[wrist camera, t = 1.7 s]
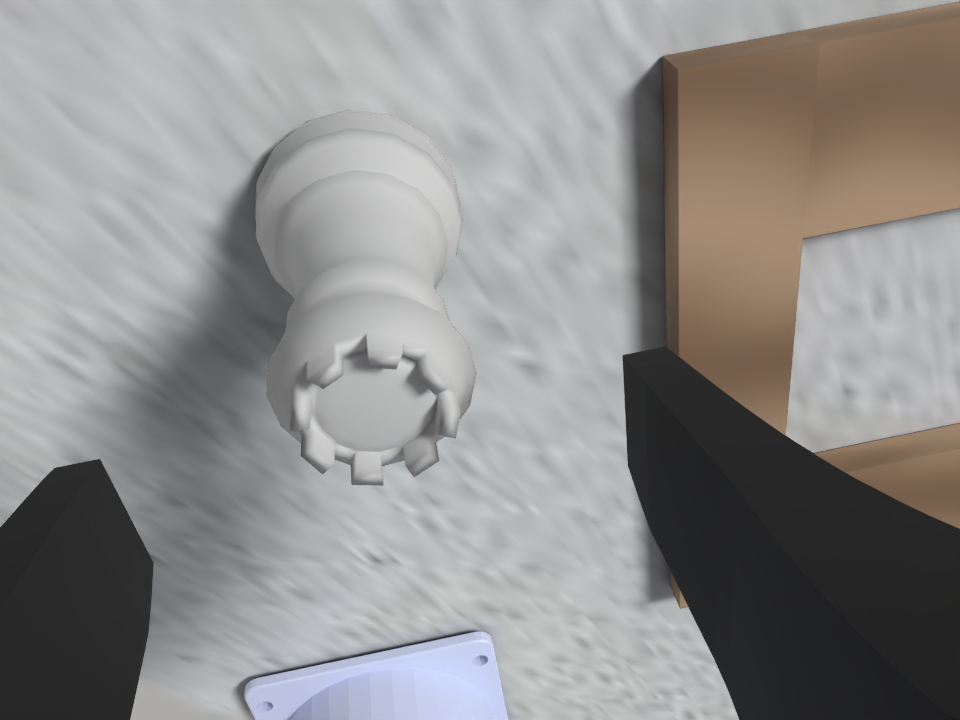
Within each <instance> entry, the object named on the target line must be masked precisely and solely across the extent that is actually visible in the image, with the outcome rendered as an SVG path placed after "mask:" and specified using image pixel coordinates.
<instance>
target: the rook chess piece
mask: <svg viewBox="0 0 960 720" xmlns="http://www.w3.org/2000/svg"><path fill="white" fill-rule="evenodd" d="M460 204H461V202H460V198H459V194H458V190H457V186H456V182H455V179H454V175H453V171H452V167H451V165H450V164H449V163H448V161H447V160H446V159H445V158H444V156H443V155H442V154H441V153H440V151H439V150H438V149H437V147H436V146H435V145H434V144H433V142H432V141H431V140H430V139H429V137H428V136H427V135H425V134H424V133H422V132H420V131H418V130H416V129H415V128H413V127H411V126H409V125H407V124H406V123H404V122H402V121H400V120H398V119H396V118H395V117H393V116H391V115H384V114H376V113H368V112H360V111H352V110H346V111H343V112H339V113H335V114H332V115H328V116H324V117H321V118H317V119H313V120H310V121H307V122H305V123H304V124H303V125H301V126H300V127H299V128H298V129H296V130H295V131H294V132H293V133H291V134H290V135H289V136H288V137H286V138H285V139H284V140H283V141H281V142H280V143H279V144H277V145H276V146H275V147H274V149H273V151H272V153H271V155H270V157H269V158H268V160H267V162H266V164H265V166H264V168H263V170H262V172H261V174H260V176H259V178H258V180H257V182H256V210H255V221H256V239H257V241H258V244H259V246H260V248H261V251H262V253H263V256H264V258H265V260H266V263H267V265H268V268H269V270H270V272H271V274H272V276H273V278H274V279H275V280H276V281H277V282H278V283H279V284H280V285H281V286H282V287H283V288H284V289H285V290H286V291H287V292H288V293H289V294H290V295H291V296H292V297H293V298H294V299H295V300H294V302H293V303H292V305H291V307H290V309H289V310H288V312H287V317H286V331H285V333H284V335H283V336H282V338H281V340H280V342H279V343H278V345H277V347H276V349H275V350H274V352H273V354H272V355H271V357H270V359H269V361H268V378H267V397H268V399H269V401H270V403H271V406H272V408H273V410H274V412H275V414H276V416H277V419H278V421H279V423H280V425H281V427H283V428H284V429H285V430H286V431H287V432H289V433H290V434H291V435H292V436H293V437H294V438H296V439H297V440H298V441H299V442H300V443H301V457H303V458H304V459H305V460H306V461H307V462H309V463H310V464H311V465H312V466H313V467H315V468H316V469H317V470H318V471H319V472H320V473H322V474H324V473H325V472H326V471H327V470H328V469H329V468H330V467H331V466H332V465H333V464H334V463H335V460H338V461H341V462H343V463H346V464H349V465H351V483H352V485H383V475H382V466H385V465H388V464H392V463H396V462H400V461H403V460H405V465H406V467H407V468H408V470H409V471H410V472H411V474H412V475H413V477H415V476H417V475H418V474H420V473H421V472H423V471H424V470H426V469H427V468H429V467H430V466H432V465H434V464H435V463H437V462H438V461H439V458H438V452H437V446H436V442H437V441H439V440H440V439H442V438H443V437H445V436H446V437H451V438H456V433H457V428H458V423H459V420H460V419H461V417H462V416H463V414H464V413H465V412H466V410H467V409H468V408H469V406H470V403H471V398H472V393H473V388H474V383H475V378H476V370H475V366H474V362H473V359H472V355H471V352H470V348H469V345H468V341H467V340H466V339H465V338H464V336H463V335H462V334H461V333H460V332H459V331H458V330H457V329H456V328H455V326H454V325H453V324H452V323H451V322H450V320H449V316H448V313H447V309H446V306H445V302H444V299H443V298H442V297H441V295H440V294H439V293H438V292H437V291H436V289H437V288H438V286H439V284H440V283H441V281H442V280H443V278H444V277H445V275H446V274H447V272H448V271H449V269H450V268H451V266H452V265H453V263H454V261H455V258H456V255H457V250H458V244H459V238H460V232H461V227H462V221H463V219H462V215H461V211H460Z"/></svg>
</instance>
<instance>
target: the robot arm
mask: <svg viewBox="0 0 960 720" xmlns="http://www.w3.org/2000/svg"><path fill="white" fill-rule="evenodd" d="M623 372H624V392H625V413H626V434H627V454H628V467H629V470H630V473H631V476H632V479H633V482H634V485H635V488H636V491H637V494H638V497H639V500H640V502H641V505H642V508H643V511H644V514H645V516H646V519H647V522H648V525H649V528H650V530H651V532H652V534H653V536H654V538H655V540H656V542H657V544H658V546H659V548H660V550H661V552H662V554H663V556H664V559H665V561H666V563H667V565H668V567H669V569H670V571H671V573H672V575H673V577H674V579H675V581H676V583H677V585H678V587H679V589H680V591H681V593H682V595H683V597H684V599H685V601H686V603H687V605H688V607H689V609H690V611H691V613H692V615H693V617H694V619H695V621H696V623H697V625H698V627H699V629H700V631H701V633H702V635H703V637H704V639H705V641H706V643H707V645H708V647H709V649H710V651H711V653H712V655H713V657H714V659H715V662H716V664H717V666H718V668H719V671H720V673H721V675H722V677H723V680H724V682H725V684H726V686H727V689H728V691H729V693H730V696H731V699H732V701H733V704H734V707H735V709H736V712H737V715H738V717H739V720H960V529H959V528H957V527H954V526H952V525H950V524H947V523H945V522H943V521H941V520H938V519H936V518H934V517H931V516H929V515H927V514H925V513H923V512H921V511H919V510H917V509H914V508H912V507H910V506H908V505H906V504H904V503H902V502H900V501H898V500H896V499H894V498H892V497H891V496H889V495H887V494H885V493H883V492H881V491H879V490H877V489H875V488H873V487H871V486H869V485H867V484H866V483H864V482H862V481H860V480H858V479H856V478H854V477H852V476H851V475H849V474H847V473H845V472H844V471H842V470H840V469H838V468H837V467H835V466H833V465H832V464H830V463H828V462H827V461H825V460H823V459H822V458H820V457H819V456H817V455H815V454H814V453H812V452H811V451H809V450H807V449H806V448H804V447H802V446H801V445H799V444H798V443H796V442H794V441H793V440H791V439H790V438H788V437H787V436H785V435H784V434H782V433H781V432H780V431H778V430H777V429H775V428H774V427H772V426H771V425H770V424H768V423H767V422H765V421H764V420H763V419H761V418H760V417H758V416H757V415H755V414H754V413H753V412H751V411H750V410H748V409H747V408H746V407H744V406H743V405H741V404H740V403H739V402H737V401H736V400H735V399H733V398H732V397H731V396H729V395H728V394H727V393H725V392H724V391H723V390H722V389H720V388H719V387H718V386H716V385H715V384H714V383H712V382H711V381H710V380H708V379H707V378H706V377H705V376H703V375H702V374H701V373H699V372H698V371H697V370H696V369H694V368H693V367H692V366H691V365H689V364H688V363H687V362H685V361H684V360H683V359H682V358H680V357H679V356H678V355H676V354H675V353H674V352H672V351H671V350H670V349H668V348H667V347H662V348H657V349H652V350H647V351H642V352H637V353H632V354H627V355H623ZM152 577H153V561H152V559H151V557H150V555H149V553H148V551H147V549H146V548H145V546H144V544H143V542H142V540H141V538H140V536H139V534H138V532H137V530H136V528H135V526H134V524H133V522H132V520H131V518H130V516H129V515H128V513H127V511H126V509H125V507H124V505H123V503H122V501H121V499H120V497H119V495H118V493H117V491H116V489H115V487H114V485H113V483H112V482H111V480H110V478H109V476H108V474H107V472H106V470H105V468H104V466H103V464H102V462H101V460H100V459H98V460H93V461H88V462H82V463H77V464H72V465H67V466H62V467H57V468H54V469H53V470H52V471H51V472H50V473H49V474H48V475H47V476H46V477H45V478H44V479H43V480H42V481H41V483H40V484H39V485H38V486H37V487H36V488H35V489H34V490H33V491H32V492H31V493H30V495H29V496H28V497H27V498H26V499H25V500H24V501H23V502H22V504H21V505H20V506H19V507H18V508H17V509H16V510H15V512H14V513H13V514H12V515H11V516H10V517H9V518H8V520H7V521H6V522H5V523H4V524H3V525H2V526H1V528H0V720H130V717H131V712H132V708H133V704H134V699H135V694H136V690H137V685H138V680H139V676H140V671H141V666H142V661H143V657H144V652H145V647H146V642H147V637H148V631H149V620H150V609H151V596H152ZM479 655H480V656H479ZM244 697H245V701H246V703H247V705H248V707H249V709H250V711H251V713H252V715H253V717H254V719H255V720H508V717H507V712H506V707H505V702H504V697H503V692H502V687H501V682H500V677H499V672H498V667H497V662H496V657H495V652H494V647H493V642H492V638H491V636H490V635H489V634H487V633H485V632H472V633H467V634H463V635H458V636H453V637H448V638H444V639H439V640H434V641H430V642H425V643H420V644H415V645H411V646H406V647H401V648H397V649H392V650H387V651H382V652H378V653H373V654H368V655H363V656H359V657H354V658H349V659H345V660H340V661H335V662H330V663H326V664H321V665H316V666H312V667H307V668H302V669H297V670H293V671H288V672H283V673H279V674H274V675H269V676H264V677H260V678H256V679H253V680H251V681H250V682H248V683H247V684H246V686H245V693H244Z"/></svg>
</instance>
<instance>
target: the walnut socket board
mask: <svg viewBox="0 0 960 720" xmlns="http://www.w3.org/2000/svg"><path fill="white" fill-rule="evenodd" d="M663 123H664V197H665V270H666V343H667V348H668V349H670V350H671V351H672V352H674V353H675V354H676V355H678V356H679V357H680V358H682V359H683V360H684V361H685V362H687V363H688V364H689V365H691V366H692V367H693V368H694V369H696V370H697V371H698V372H699V373H701V374H702V375H703V376H705V377H706V378H707V379H708V380H710V381H711V382H712V383H714V384H715V385H716V386H718V387H719V388H720V389H722V390H723V391H724V392H725V393H727V394H728V395H729V396H731V397H732V398H733V399H735V400H736V401H737V402H739V403H740V404H741V405H743V406H744V407H746V408H747V409H748V410H750V411H751V412H753V413H754V414H755V415H757V416H758V417H760V418H761V419H763V420H764V421H765V422H767V423H768V424H770V425H771V426H772V427H774V428H775V429H777V430H778V431H780V432H781V433H782V434H784V435H786V424H787V413H788V401H789V390H790V378H791V367H792V356H793V344H794V333H795V322H796V310H797V299H798V287H799V276H800V265H801V253H802V242H803V238H806V237H812V236H817V235H822V234H827V233H832V232H837V231H842V230H848V229H853V228H858V227H863V226H868V225H873V224H878V223H884V222H889V221H894V220H899V219H904V218H909V217H914V216H920V215H925V214H930V213H935V212H940V211H945V210H950V209H956V208H960V2H955V3H950V4H944V5H939V6H933V7H928V8H923V9H917V10H912V11H906V12H901V13H895V14H890V15H884V16H879V17H873V18H868V19H863V20H857V21H852V22H846V23H841V24H835V25H830V26H824V27H819V28H813V29H808V30H802V31H797V32H792V33H786V34H781V35H775V36H770V37H764V38H759V39H753V40H748V41H742V42H737V43H731V44H726V45H721V46H715V47H710V48H704V49H699V50H693V51H688V52H682V53H677V54H671V55H666V56H663ZM814 454H815V455H817V456H819V457H820V458H822V459H823V460H825V461H827V462H828V463H830V464H832V465H833V466H835V467H837V468H838V469H840V470H842V471H844V472H845V473H847V474H849V475H851V476H852V477H854V478H856V479H858V480H860V481H862V482H864V483H866V484H867V485H869V486H871V487H873V488H875V489H877V490H879V491H881V492H883V493H885V494H887V495H889V496H891V497H892V498H894V499H896V500H898V501H900V502H902V503H904V504H906V505H908V506H910V507H912V508H914V509H917V510H919V511H921V512H923V513H925V514H927V515H929V516H931V517H934V518H936V519H938V520H941V521H943V522H945V523H947V524H950V525H952V526H954V527H957V528H959V529H960V423H959V424H954V425H950V426H945V427H940V428H935V429H930V430H925V431H920V432H916V433H911V434H906V435H901V436H896V437H891V438H886V439H882V440H877V441H872V442H867V443H862V444H857V445H852V446H848V447H843V448H838V449H833V450H828V451H823V452H818V453H814ZM670 586H671V588H672V591H673V593H674V596H675V598H676V600H677V603H678V605H679V607H680V609H681V608H686V607H688V605H687V603H686V601H685V599H684V597H683V595H682V593H681V591H680V589H679V587H678V585H677V583H676V581H675V579H674V577H673V575H672V573H671V571H670Z"/></svg>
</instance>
